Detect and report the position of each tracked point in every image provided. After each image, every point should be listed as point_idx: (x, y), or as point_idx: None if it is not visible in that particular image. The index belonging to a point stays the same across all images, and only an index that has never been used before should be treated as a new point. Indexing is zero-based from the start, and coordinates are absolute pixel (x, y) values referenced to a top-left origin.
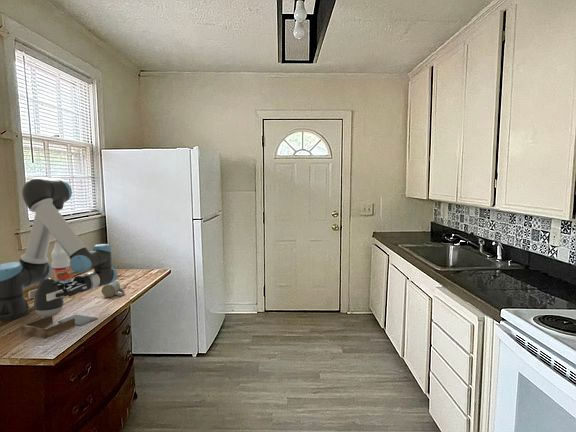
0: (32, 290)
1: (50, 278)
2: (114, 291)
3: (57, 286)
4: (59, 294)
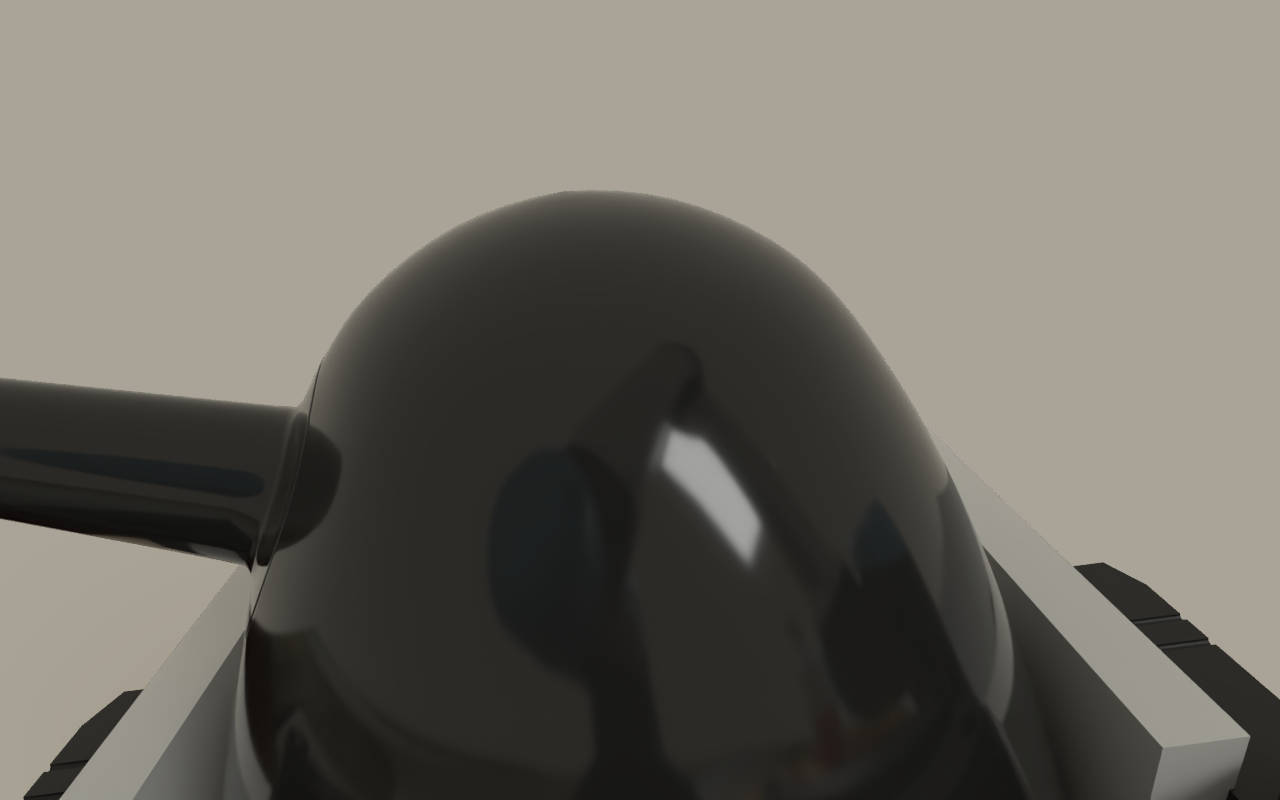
0: (951, 464)
1: (479, 238)
2: None
3: (233, 716)
4: (81, 763)
